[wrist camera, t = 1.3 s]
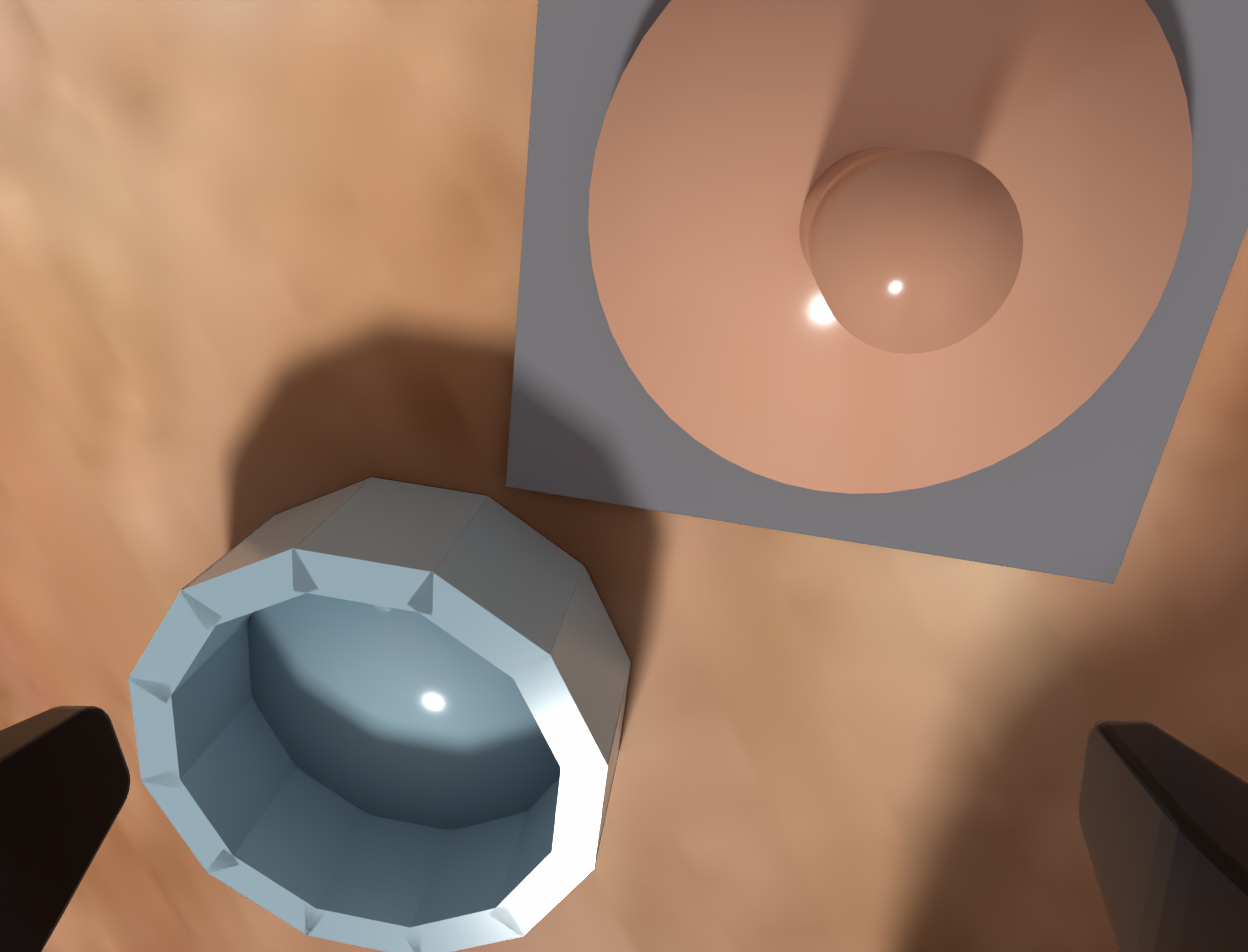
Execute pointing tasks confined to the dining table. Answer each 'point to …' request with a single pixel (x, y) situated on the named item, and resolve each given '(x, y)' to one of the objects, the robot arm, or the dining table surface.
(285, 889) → the bowl
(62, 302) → the dining table surface
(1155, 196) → the lid
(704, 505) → the mat
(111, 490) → the dining table surface
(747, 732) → the dining table surface
